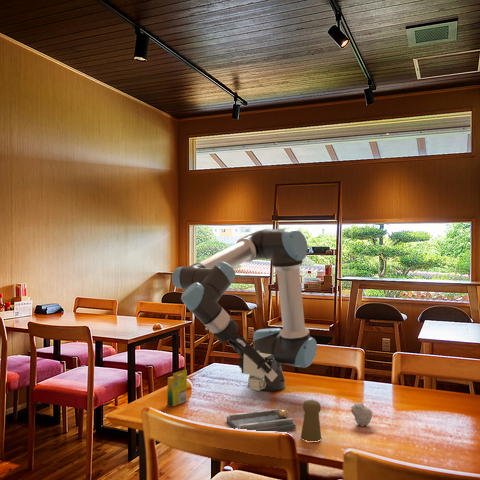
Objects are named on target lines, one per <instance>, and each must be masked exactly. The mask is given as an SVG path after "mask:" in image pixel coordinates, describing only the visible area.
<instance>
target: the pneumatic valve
mask: <svg viewBox="0 0 480 480" xmlns="http://www.w3.org/2000/svg"><path fill="white" fill-rule="evenodd" d="M257 352H258V353H259V352H260V351H258V350H257ZM259 354H260V355H261V356H262V357H263V358H264V359H265V360H266V363H267V364H268V365H269V366H270V369H271V370H272V369H273V370H274V372H276V370H277V361H276V360H274V355H271V354H265V353H259ZM237 363H238V367H239V369H240V370H241V374H243V375H249V376H250V375H251V376H252V377H253V376H254V377H253V378H250V379H249V378H248V379H249V381H248V380H247V381H248V382H247V386H248V385H249V386H248V388H249V389H250V390H252V391H253V390H254V391H258V392H260V391H262V390H261V389H264V388H265V387H266V382H265V381H264V380H265V379H264V378H267V376H266V375H265V374H264V373H263V372H262V371H261V370H260V369H257V367H258V366H257V365H256V364H255V363H254V362H253V361H252V360H251V359H250V358H249V357H248V356H247V355H245V354H244V353H242V355H241V356H240V355H239V358H238V362H237ZM262 377H264V378H262Z"/></svg>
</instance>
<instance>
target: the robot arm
mask: <svg viewBox="0 0 480 480" xmlns="http://www.w3.org/2000/svg"><path fill="white" fill-rule="evenodd" d="M307 252H308V242H307V238H306V237H305V235H304V233H303V232H302V231H300V230H299V229H296V228H295V229H294V228H269V229H267V228H264V229H260V230H257V231H255V232H252V233H250V234H247V235H245V236H243V237H241V238H240V239H238V240H237V241H236V243H235V244H233V245H230V246H229V247H225V248H224V249H222V250H221V251H218V252H216V253H214V254H212V255H209V256H208V257H205V258H203V259H202V260H200V261H198V262H195V263H193V264H191V265H189V266H178V267H176V268H175V269H174V270H173V272H172V275H171V280H172V281H171V282H172V285H173V286H174V287H175V288H177V289H180V290H183V292H182V294H181V297H180V300H181V301H182V303H183V304H184V305H185V306H186V308H187V309H188V311H189V312H191V313H192V314H193V316H195V317H196V318H197V319H198V320H199V321H200V322H201V323H202V324H203V325H204V326H205V328H204V329H205V331H209V332H210V333H212V334H213V336H214V337H215V338H216V339H217V340H218V341H219V343H221V344H224V343H228V345H230V347H231V348H232V349H233V350H234V351H235V352H236V353H237V355H238V356H239V357H240V356H241V355H242V353H244V354H245V355H247V356H248V357H249V358H250V359H251V360H252V361H253V362H254V363H255V364H256V365H257V366H258V367H257V369H260V370H261V371H262V372H263V373H264V374H265V375H266V376H267V378H264V377H262V378H264V379H265V380H264V381H265V382H266V387H265V388H264V389H261V390H260V391H262V392H263V391H265V392H274V391H281V390H283V389H285V387H286V380H285V376H284V372H283V368H282V364H283V365H288V366H293V367H296V368H303V369H304V368H308V367H309V366H310V365H312V363H314V360H315V357H316V354H317V350H318V349H317V348H318V344H317V341H316V339H315V338H314V337H312V336H310V330H309V329H308V327H306V326H305V325H306V324H305V315H304V314H305V313H304V303H303V295H302V294H303V293H302V284H301V275H300V267H301V266H302V265H303V260H305V258H306V257H307V255H308V253H307ZM262 259H263V260H271V266H272V268H274V269H275V270H276V277H277V286H278V287H277V288H278V295H279V305H280V313H281V314H280V315H281V323H282V324H281V325H282V329H281V328H280V327H277V328H274V327H273V328H271V327H270V328H261V329H257V330H255V331H254V332H253V340H252V342H253V343H252V345H251V344H249V342H248V341H247V340H246V339H245V338H244V337H243V336H242V335H241V334H239V333H238V330H239V323H237V322H236V321H235V320H234V319H233V318H232V317H231V316H230V314H228V312H227V311H226V309H224V308H223V306H222V305H220V304H219V302H218V301H220V299H221V298H222V296H223V295H224V294H225V293H226V292H227V290H228V288H229V287H230V286H231V285H232V283H233V281H234V280H235V278H236V271H235V270H234V268H235V267H237V266H239V265H241V264H243V263H245V262H247V263H250V262H252V261H254V260H262ZM257 350H258V351H260V352H259V353H265V354H271V355H274V360H276V361H277V370H276V372H274V370H273V369H272V370H271V369H270V366H269V365H268V364H267V363H266V360H265V359H264V358H263V357H262V356H261V355H260V354H259V353H258V352H257ZM253 377H254V376H253ZM253 377H252V376H251V375H249V377H248V379H247V381H249V379H250V378H253ZM247 386H248V387H249V385H248V384H247Z"/></svg>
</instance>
